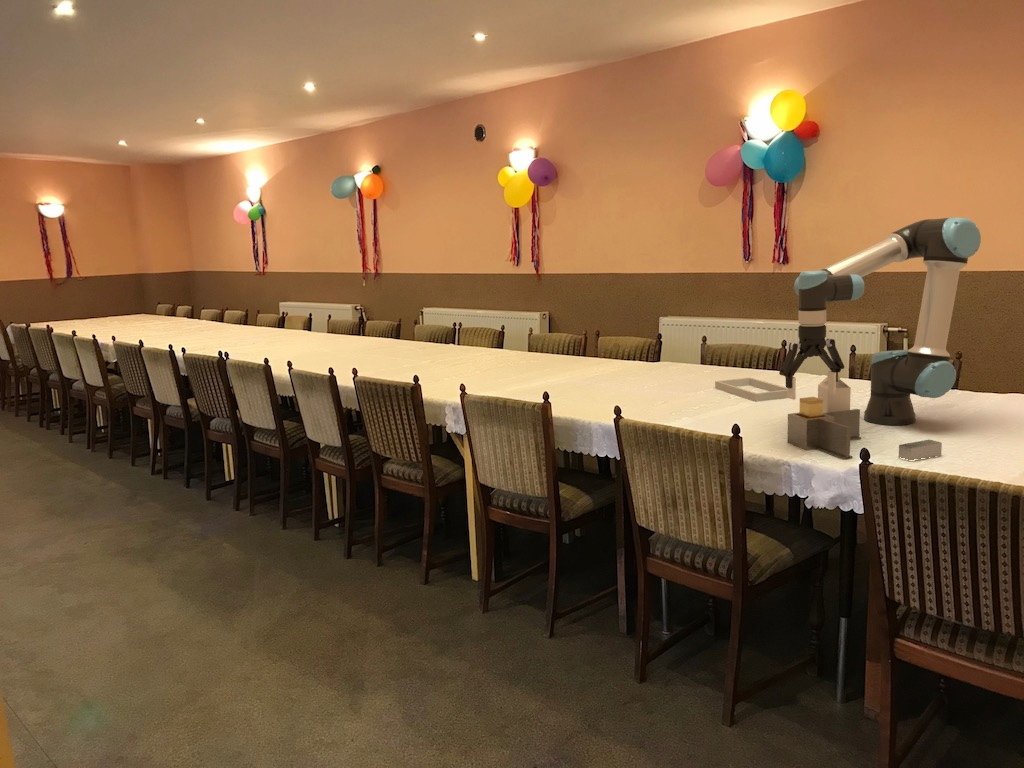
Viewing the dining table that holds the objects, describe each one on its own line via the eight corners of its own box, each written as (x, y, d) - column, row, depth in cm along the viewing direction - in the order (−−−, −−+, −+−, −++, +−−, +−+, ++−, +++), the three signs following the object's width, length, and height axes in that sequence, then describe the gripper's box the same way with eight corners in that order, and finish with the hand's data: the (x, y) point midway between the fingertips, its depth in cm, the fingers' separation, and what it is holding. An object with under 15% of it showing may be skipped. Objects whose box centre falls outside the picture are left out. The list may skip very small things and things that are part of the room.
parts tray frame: (750, 384, 317) (750, 377, 317) (793, 397, 288) (793, 389, 288) (715, 388, 313) (715, 381, 313) (755, 401, 284) (755, 393, 284)
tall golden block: (812, 441, 226) (813, 396, 224) (822, 445, 222) (823, 399, 220) (799, 443, 225) (799, 398, 223) (808, 447, 221) (809, 401, 218)
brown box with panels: (847, 434, 232) (848, 406, 230) (898, 451, 212) (899, 420, 210) (787, 442, 227) (787, 413, 225) (833, 460, 207) (834, 429, 205)
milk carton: (838, 429, 238) (840, 371, 235) (849, 435, 231) (851, 374, 228) (816, 431, 238) (818, 372, 235) (826, 436, 231) (828, 376, 228)
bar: (928, 453, 210) (929, 439, 209) (941, 456, 206) (941, 442, 205) (898, 459, 206) (898, 444, 205) (910, 462, 202) (911, 448, 202)
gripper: (840, 319, 224) (839, 389, 228) (766, 327, 218) (767, 398, 222) (857, 321, 217) (856, 393, 220) (782, 329, 211) (782, 403, 215)
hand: (811, 396), depth 221 cm, fingers open, 13 cm apart
